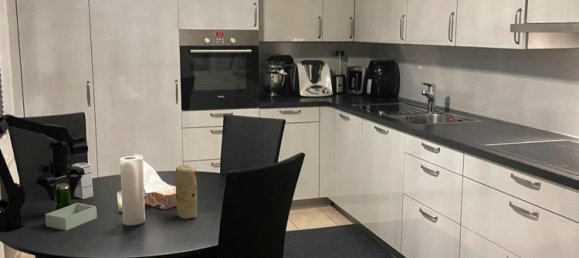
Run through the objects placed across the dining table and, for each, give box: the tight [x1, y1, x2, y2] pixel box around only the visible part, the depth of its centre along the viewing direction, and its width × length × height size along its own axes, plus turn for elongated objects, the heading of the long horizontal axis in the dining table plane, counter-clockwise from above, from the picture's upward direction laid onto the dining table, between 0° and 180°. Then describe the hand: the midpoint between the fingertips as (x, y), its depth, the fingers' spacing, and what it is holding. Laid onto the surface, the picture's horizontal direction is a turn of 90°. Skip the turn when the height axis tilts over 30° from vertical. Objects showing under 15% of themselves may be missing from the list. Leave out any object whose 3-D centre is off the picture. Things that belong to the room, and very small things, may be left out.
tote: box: [44, 202, 98, 231], centre depth 207 cm, size 15×10×4 cm, turn 155°
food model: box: [175, 164, 198, 220], centre depth 212 cm, size 10×7×20 cm
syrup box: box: [71, 161, 94, 200], centre depth 237 cm, size 6×6×14 cm
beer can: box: [54, 182, 72, 211], centre depth 214 cm, size 5×5×12 cm
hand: (62, 197), depth 214 cm, fingers open, 9 cm apart
